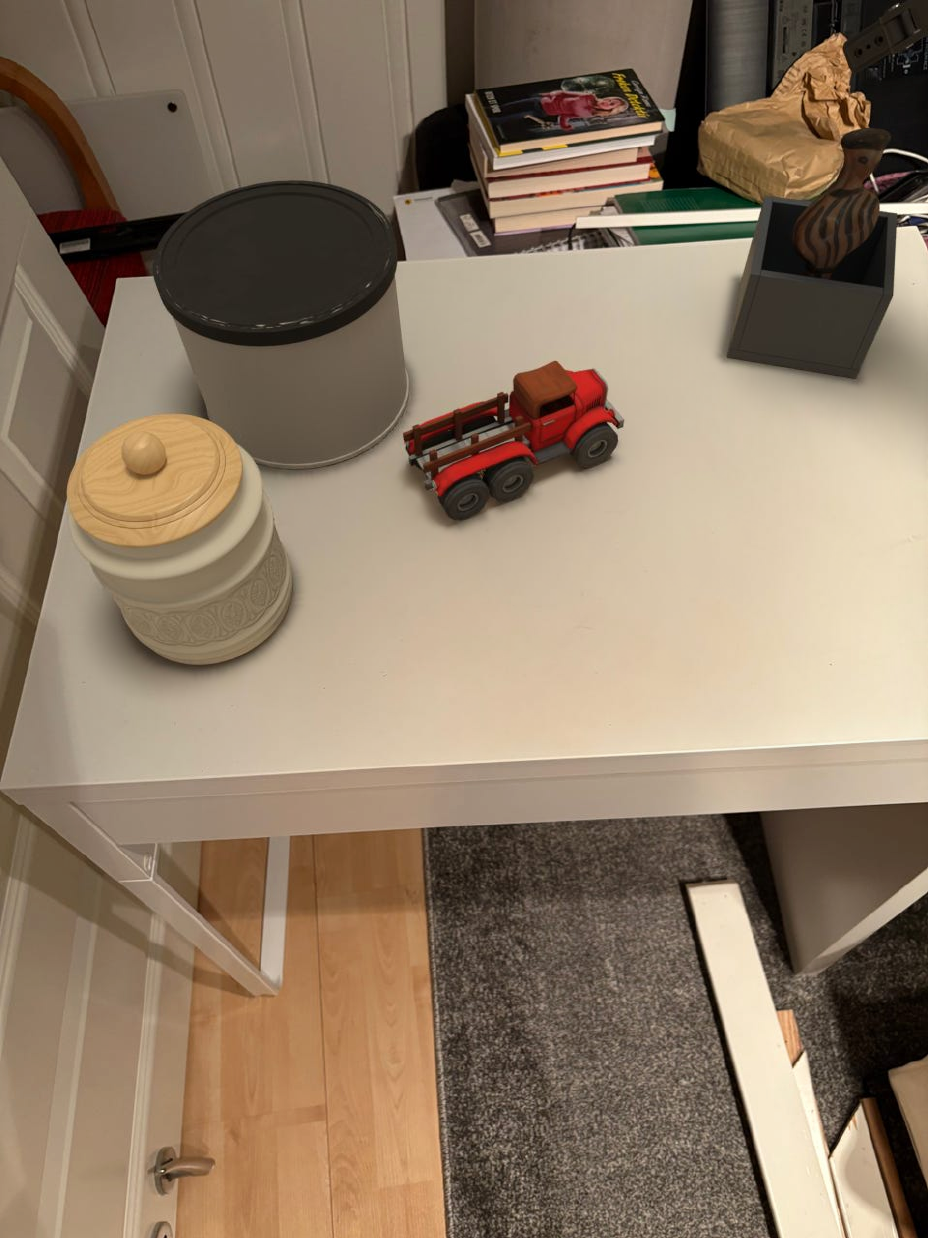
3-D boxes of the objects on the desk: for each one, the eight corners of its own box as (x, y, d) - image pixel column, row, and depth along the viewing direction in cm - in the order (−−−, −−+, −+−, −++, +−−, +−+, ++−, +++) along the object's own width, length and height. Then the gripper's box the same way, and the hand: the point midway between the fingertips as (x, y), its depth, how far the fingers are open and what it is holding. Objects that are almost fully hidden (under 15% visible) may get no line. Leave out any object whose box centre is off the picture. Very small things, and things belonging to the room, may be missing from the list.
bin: (861, 297, 86) (897, 212, 78) (855, 378, 80) (893, 295, 73) (741, 279, 88) (764, 194, 80) (726, 357, 82) (750, 273, 75)
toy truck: (626, 452, 76) (640, 380, 69) (439, 531, 72) (433, 462, 65) (579, 395, 80) (587, 321, 73) (399, 466, 76) (389, 395, 69)
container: (180, 463, 77) (118, 323, 64) (234, 320, 87) (190, 173, 74) (393, 478, 75) (373, 336, 63) (424, 330, 85) (412, 182, 73)
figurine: (772, 344, 81) (837, 152, 66) (751, 309, 84) (808, 117, 69) (847, 330, 82) (928, 137, 67) (823, 296, 85) (896, 104, 70)
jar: (119, 676, 66) (9, 529, 51) (140, 538, 73) (48, 372, 58) (293, 662, 66) (235, 512, 51) (298, 525, 73) (248, 358, 58)
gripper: (1177, -227, 51) (917, -50, 65) (1056, -157, 46) (804, 18, 60) (1210, -90, 53) (952, 52, 67) (1098, -9, 48) (845, 126, 62)
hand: (882, 36), depth 64 cm, fingers open, 8 cm apart
